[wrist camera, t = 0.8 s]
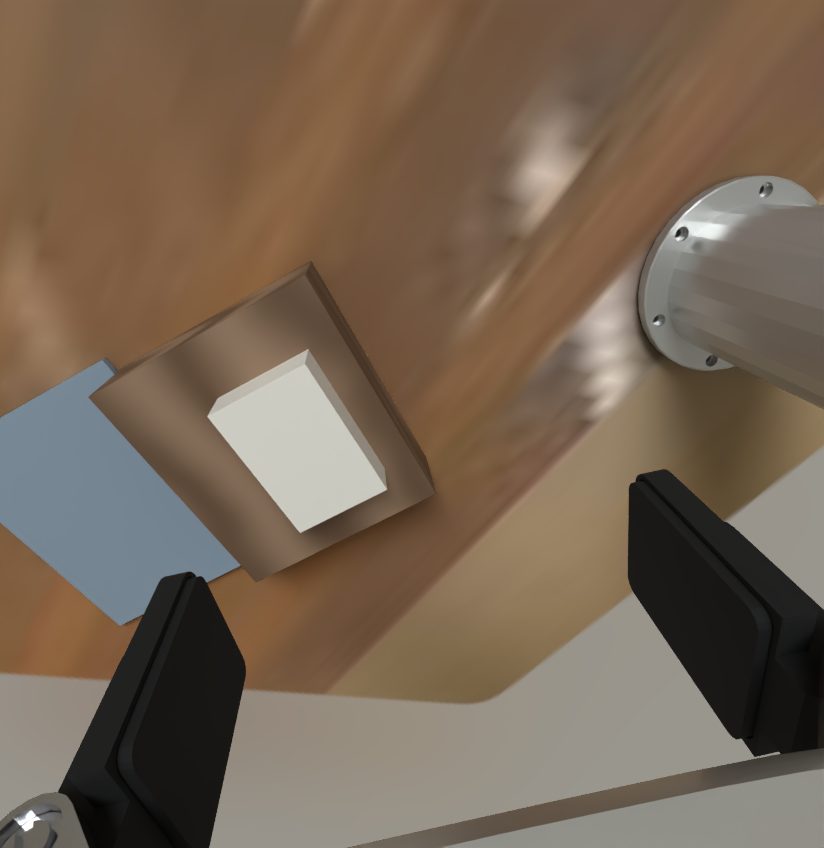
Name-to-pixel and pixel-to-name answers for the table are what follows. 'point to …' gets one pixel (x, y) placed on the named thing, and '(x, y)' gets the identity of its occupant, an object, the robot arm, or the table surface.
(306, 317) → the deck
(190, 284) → the table surface
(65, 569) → the mat
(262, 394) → the block
